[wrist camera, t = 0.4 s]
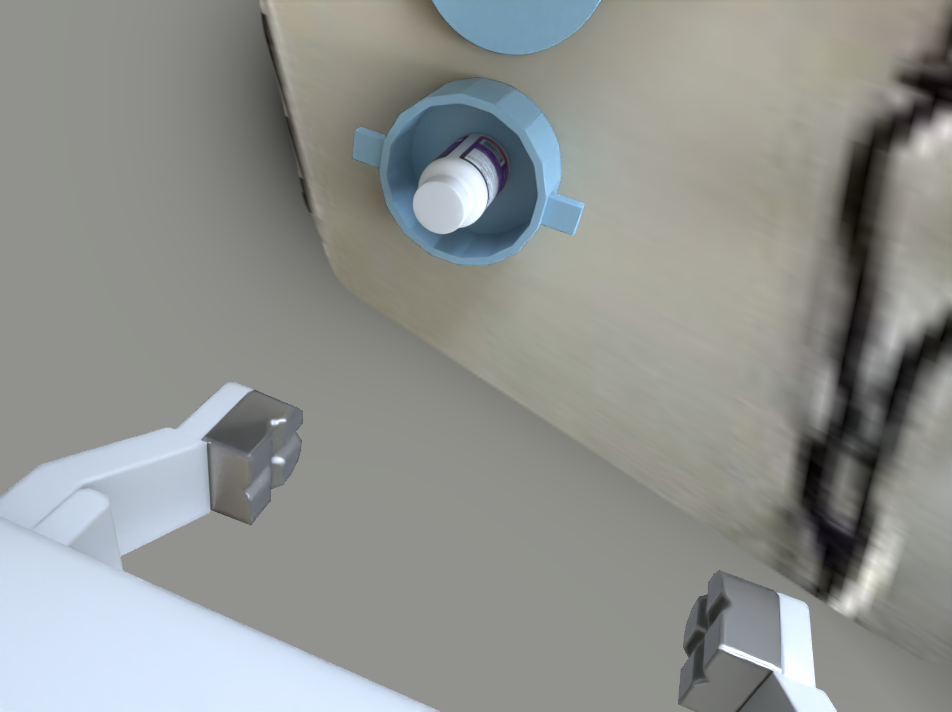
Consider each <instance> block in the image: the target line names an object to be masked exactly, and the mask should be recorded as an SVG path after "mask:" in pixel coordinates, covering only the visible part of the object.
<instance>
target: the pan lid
mask: <svg viewBox="0 0 952 712" xmlns="http://www.w3.org/2000/svg"><path fill="white" fill-rule="evenodd" d="M600 1H601V0H432V2H433V3H434V5H435V7H436V8H437V10H438V11H439V13H440V14H441V15H442V17H443V18H444V19H445V20H446V22H447V23H448V24H449V25H450V26H451V27H452V28H453V29H454V30H455V31H456V32H457V33H459V34H460V35H461V36H463V37H464V38H465V39H467V40H468V41H470V42H472V43H473V44H475V45H477V46H479V47H481V48H484V49H486V50H489V51H492V52H497V53H501V54H510V55H521V54H530V53H535V52H539V51H542V50H545V49H548V48H550V47H552V46H554V45H556V44H558V43H560V42H562V41H563V40H565V39H566V38H567V37H569V36H570V35H572V34H573V33H574V32H575V31H576V30H578V29H579V28H580V27H581V26H582V25H583V24H584V23H585V22H586V21H587V19H588V18H589V17H590V16H591V15H592V13H593V12H594V11H595V9H596V8H597V6H598V4H599V3H600Z"/></svg>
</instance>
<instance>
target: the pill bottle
mask: <svg viewBox="0 0 952 712" xmlns="http://www.w3.org/2000/svg"><path fill="white" fill-rule="evenodd" d="M509 173H510V163H509V159H508V156H507V153H506V151H505V150H504V148H503V147H502V145H501V144H500V143H499V142H498V141H496V140H495V139H494V138H492V137H490V136H488V135H485V134H481V133H472V134H467V135H465V136H462V137H461V138H459V139H458V140H456V141H455V142H454V143H453V144H452V145H451V146H449V147H448V148H447V149H446V150H445V151H444V152H443V153H442V154H441V155H439V156H438V157H437V158H436V159H435V160H434V161H433V162H431V163H430V164H429V165H428V166H427V167H426V169H425V170H424V171H423V173H422V175H421V177H420V180H419V184H418V189H417V190H416V192H415V194H414V197H413V211H414V214H415V216H416V218H417V219H418V221H419V222H420V223H421V224H422V226H424V227H425V228H426V229H428V230H429V231H432V232H434V233H438V234H447V233H451V232H453V231H455V230H456V229H458V228H462V227H466V226H468V225H471V224H472V223H474V222H475V221H476V220H477V219H478V218H479V217H480V216H481V215H482V214H483V213H484V211H485V210H486V209H487V207H488V206H489V205H490V204H491V202H492V201H493V200H494V199H495V197H496V196H497V195H498V194H499V193H500V191H501V190H502V189H503V187H504V186H505V184H506V183H507V180H508V178H509Z"/></svg>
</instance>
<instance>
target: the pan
mask: <svg viewBox="0 0 952 712" xmlns="http://www.w3.org/2000/svg"><path fill="white" fill-rule="evenodd" d="M472 133H481V134H485V135H488V136H490V137H492V138H494V139H495V140H496V141H498V142H499V143H500V144H501V145H502V147H503V148H504V150H505V151H506V153H507V156H508V159H509V163H510V173H509V178H508V180H507V183H506V184H505V186H504V187H503V189H502V190H501V191H500V193H499V194H498V195H497V196H496V197H495V199H494V200H493V201H492V202H491V204H490V205H489V206H488V207H487V209H486V210H485V211H484V213H483V214H482V215H481V216H480V217H479V218H478V219H477V220H476V221H475V222H474V223H472V224H471V225H468V226H466V227H462V228H458V229H456V230H455V231H453V232H451V233H447V234H438V233H434V232H432V231H429V230H428V229H426V228H425V227H424V226H422V224H421V223H420V222H419V221H418V219H417V218H416V216H415V214H414V211H413V197H414V194H415V192H416V190H417V189H418V184H419V180H420V177H421V175H422V173H423V171H424V170H425V169H426V167H427V166H428V165H429V164H430V163H431V162H433V161H434V160H435V159H436V158H437V157H438V156H439V155H441V154H442V153H443V152H444V151H445V150H446V149H447V148H448V147H449V146H451V145H452V144H453V143H454V142H455V141H456V140H458V139H459V138H461V137H462V136H465V135H467V134H472ZM352 159H355V160H357V161H360V162H363V163H366V164H369V165H372V166H375V167H378V168H379V177H380V181H381V186H382V190H383V194H384V198H385V202H386V206H387V208H388V209H389V211H390V212H391V214H392V216H393V217H394V219H395V220H396V222H397V223H398V225H399V227H400V228H401V230H402V231H403V233H404V234H405V235H406V236H408V237H409V238H410V239H411V240H412V241H414V242H415V243H416V244H417V245H419V246H420V247H421V248H422V249H424V250H425V251H426V252H427V253H428V254H430V255H433V256H435V257H438V258H441V259H444V260H446V261H449V262H452V263H455V264H457V265H491V264H493V263H495V262H497V261H500V260H502V259H504V258H506V257H509V256H511V255H513V254H515V253H517V252H518V251H519V250H520V249H521V248H522V247H523V246H524V245H525V243H526V242H527V241H528V240H529V239H530V238H531V236H532V235H533V234H534V233H535V232H536V231H537V229H538V228H539V226H540V225H541V224H542V225H544V226H547V227H550V228H553V229H556V230H559V231H562V232H565V233H567V234H570V235H574V234H575V232H576V229H577V226H578V223H579V220H580V217H581V214H582V211H583V208H584V205H585V204H584V203H582V202H579V201H576V200H573V199H570V198H567V197H564V196H561V195H558V194H556V193H557V191H558V187H559V183H560V179H561V157H560V151H559V146H558V143H557V139H556V136H555V134H554V132H553V129H552V127H551V125H550V124H549V122H548V120H547V119H546V117H545V115H544V114H543V113H542V112H541V110H540V109H539V108H538V107H537V106H536V105H535V104H534V103H533V102H532V101H531V100H530V99H529V98H528V97H526V96H525V95H524V94H522V93H521V92H520V91H518V90H516V89H514V88H513V87H511V86H509V85H506V84H504V83H501V82H498V81H494V80H490V79H485V78H470V79H463V80H458V81H451V82H448V83H447V84H445V85H444V86H442V87H441V88H439V89H437V90H436V91H434V92H433V93H431V94H430V95H428V96H426V97H425V98H423V99H422V100H420V101H419V102H417V103H416V104H414V105H413V106H411V107H410V108H408V109H407V110H405V111H403V112H402V113H400V115H399V116H398V117H397V119H396V121H395V122H394V124H393V126H392V127H391V129H390V131H389V132H388V134H387V136H386V135H383V134H380V133H378V132H375V131H372V130H369V129H366V128H363V127H359V128H357V129H356V130H355V134H354V144H353V153H352Z"/></svg>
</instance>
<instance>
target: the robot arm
mask: <svg viewBox="0 0 952 712" xmlns="http://www.w3.org/2000/svg"><path fill="white" fill-rule="evenodd" d="M302 415H303V411H302V410H300V409H299V408H297V407H295V406H292V405H290V404H288V403H285V402H282V401H280V400H278V399H275V398H273V397H271V396H268V395H266V394H263V393H261V392H259V391H256V390H253V389H250V388H248V387H245V386H243V385H241V384H238V383H236V382H233V381H231V382H228V383H226V384H224V385H223V386H221V387H220V388H219V389H218V390H217V391H216V392H215V393H214V394H213V395H212V396H211V397H210V398H208V400H206V401H205V402H204V403H203V404H202V405H201V406H200V407H199V408H198V409H197V410H195V412H193V413H192V414H191V415H190V416H189V417H188V418H187V419H186V420H185V421H184V422H183V423H181V424H180V425H179V426H178V427H177V428H176V429H172V428H170V427H167V428H164V429H160V430H157V431H153V432H150V433H146V434H143V435H140V436H136V437H132V438H129V439H126V440H122V441H119V442H115V443H112V444H108V445H105V446H101V447H98V448H95V449H91V450H88V451H84V452H81V453H78V454H74V455H71V456H67V457H64V458H60V459H57V460H53V461H50V462H46V463H43V464H40V465H39V466H37V467H36V468H35V469H34V470H32V471H31V472H30V473H29V474H27V475H26V476H25V477H24V478H22V479H21V480H20V481H19V482H17V483H16V484H15V485H14V486H12V487H11V488H10V489H9V490H7V491H6V492H5V493H4V494H3V495H1V496H0V712H440V711H438V710H436V709H434V708H431V707H429V706H427V705H425V704H422V703H420V702H418V701H415V700H413V699H411V698H409V697H407V696H404V695H402V694H400V693H397V692H395V691H393V690H391V689H388V688H386V687H384V686H382V685H379V684H377V683H375V682H373V681H370V680H368V679H366V678H364V677H361V676H359V675H357V674H355V673H352V672H350V671H348V670H345V669H343V668H341V667H339V666H337V665H334V664H332V663H330V662H328V661H325V660H323V659H321V658H319V657H316V656H314V655H312V654H309V653H307V652H305V651H303V650H300V649H298V648H296V647H294V646H291V645H289V644H287V643H285V642H282V641H280V640H278V639H275V638H273V637H271V636H269V635H267V634H264V633H262V632H260V631H258V630H255V629H253V628H251V627H248V626H246V625H244V624H242V623H240V622H237V621H235V620H233V619H231V618H228V617H226V616H224V615H221V614H219V613H217V612H215V611H212V610H210V609H208V608H206V607H203V606H201V605H199V604H196V603H194V602H192V601H190V600H188V599H185V598H183V597H181V596H178V595H176V594H174V593H172V592H170V591H167V590H165V589H163V588H160V587H158V586H156V585H154V584H151V583H149V582H147V581H145V580H142V579H140V578H138V577H136V576H133V575H131V574H128V573H127V572H124V571H123V568H122V562H121V558H120V556H122V555H124V554H126V553H128V552H130V551H132V550H134V549H136V548H138V547H140V546H142V545H144V544H147V543H149V542H151V541H153V540H155V539H157V538H159V537H161V536H163V535H165V534H167V533H169V532H171V531H173V530H175V529H177V528H179V527H182V526H184V525H185V524H188V523H190V522H192V521H194V520H196V519H198V518H200V517H202V516H204V515H206V514H208V513H210V512H211V510H213V511H215V512H218V513H221V514H223V515H226V516H228V517H231V518H233V519H236V520H239V521H241V522H244V523H246V524H249V525H252V523H253V522H254V521H255V520H256V518H257V517H258V516H259V515H260V513H261V512H262V511H263V510H264V508H265V507H266V506H267V505H268V503H269V502H270V501H271V489H273V488H276V487H279V486H281V485H283V484H284V483H285V482H286V481H287V479H288V478H289V476H290V475H291V474H292V472H293V470H294V468H295V466H296V464H297V462H298V459H299V455H300V451H301V441H302V440H301V439H300V437H299V435H298V434H297V432H296V431H297V430H298V429H299V427H300V426H301V425H302V421H303V416H302ZM683 648H684V650H685V652H686V654H687V656H688V658H689V659H688V660H687V661H686V663H685V664H684V666H683V667H682V669H681V675H680V687H679V699H678V704H679V705H681V706H684V707H686V708H688V709H690V710H693V711H695V712H837V711H836V709H835V708H834V706H833V704H832V703H831V701H830V700H829V698H828V697H827V695H826V694H825V692H824V691H822V690H819V689H817V688H816V687H815V676H814V665H813V653H812V642H811V630H810V618H809V608H808V606H807V605H806V603H805V602H803V601H800V600H797V599H795V598H792V597H789V596H787V595H784V594H781V593H779V592H774V591H773V590H771V589H769V588H766V587H763V586H761V585H758V584H755V583H753V582H750V581H747V580H744V579H742V578H739V577H736V576H734V575H731V574H728V573H726V572H723V571H720V570H719V571H718V572H716V573H715V574H714V575H713V576H712V578H711V579H710V581H709V584H708V594H707V595H704V596H700V597H699V598H698V599H697V601H696V603H695V604H694V606H693V608H692V610H691V613H690V616H689V618H688V621H687V624H686V629H685V634H684V643H683Z"/></svg>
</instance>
